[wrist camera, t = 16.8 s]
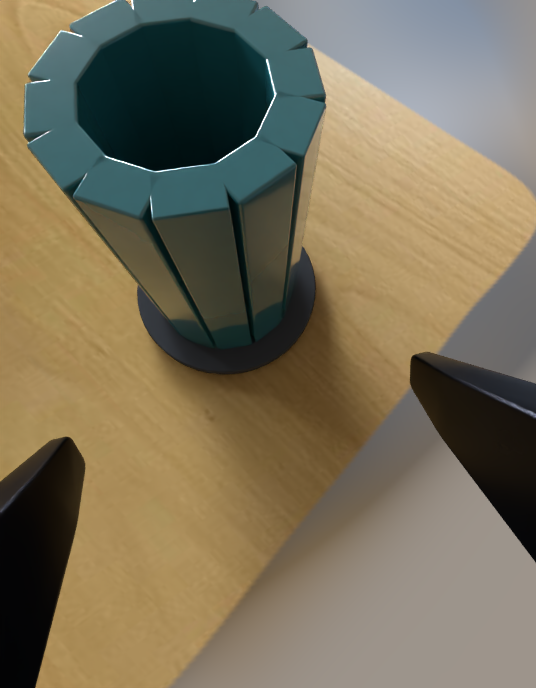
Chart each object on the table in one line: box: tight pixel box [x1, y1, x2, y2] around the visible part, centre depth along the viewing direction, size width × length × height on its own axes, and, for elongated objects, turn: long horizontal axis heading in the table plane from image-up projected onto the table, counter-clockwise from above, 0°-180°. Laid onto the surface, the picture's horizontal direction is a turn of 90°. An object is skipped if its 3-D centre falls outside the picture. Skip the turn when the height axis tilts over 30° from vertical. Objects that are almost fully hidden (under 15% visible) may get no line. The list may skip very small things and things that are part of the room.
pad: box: [137, 246, 316, 374], centre depth 18 cm, size 9×9×1 cm
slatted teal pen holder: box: [23, 0, 326, 350], centre depth 13 cm, size 7×7×10 cm
